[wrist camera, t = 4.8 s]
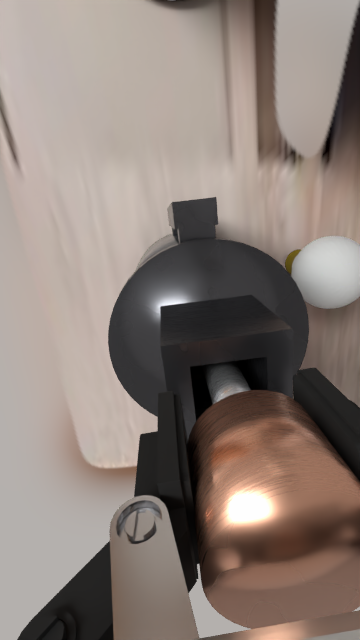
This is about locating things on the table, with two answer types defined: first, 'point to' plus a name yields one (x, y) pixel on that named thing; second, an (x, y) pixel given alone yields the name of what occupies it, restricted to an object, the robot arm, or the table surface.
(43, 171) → the table surface
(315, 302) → the light bulb
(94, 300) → the table surface
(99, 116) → the table surface
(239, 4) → the table surface
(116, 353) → the airpot
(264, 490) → the plunger
